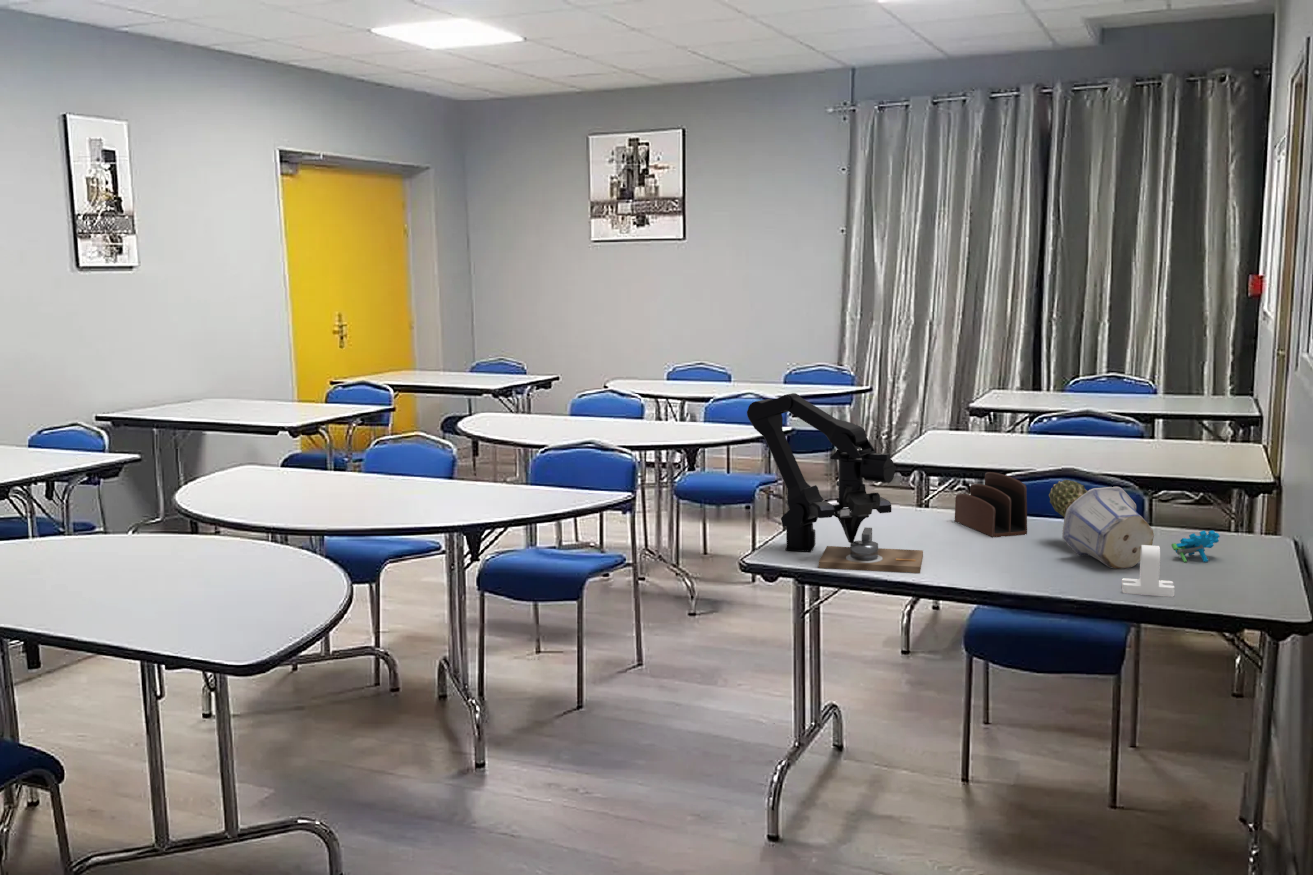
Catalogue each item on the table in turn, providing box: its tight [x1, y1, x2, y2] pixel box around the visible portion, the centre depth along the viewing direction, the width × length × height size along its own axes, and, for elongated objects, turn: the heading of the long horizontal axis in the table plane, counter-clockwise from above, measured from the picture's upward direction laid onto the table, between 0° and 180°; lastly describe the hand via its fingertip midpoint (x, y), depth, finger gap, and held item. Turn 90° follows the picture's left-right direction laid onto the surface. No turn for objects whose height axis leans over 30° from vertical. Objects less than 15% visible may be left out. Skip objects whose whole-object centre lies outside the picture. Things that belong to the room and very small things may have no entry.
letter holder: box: [954, 471, 1028, 538], centre depth 290 cm, size 10×20×14 cm, turn 14°
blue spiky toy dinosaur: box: [1170, 530, 1221, 563], centre depth 255 cm, size 11×6×10 cm
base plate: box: [818, 545, 924, 574], centre depth 260 cm, size 23×15×2 cm, turn 74°
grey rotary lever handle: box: [849, 526, 879, 560], centre depth 261 cm, size 13×6×4 cm, turn 164°
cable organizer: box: [1121, 544, 1175, 598], centre depth 231 cm, size 5×10×10 cm, turn 70°
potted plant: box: [1048, 479, 1155, 570], centre depth 261 cm, size 18×18×30 cm
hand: (850, 542), depth 265 cm, fingers closed
